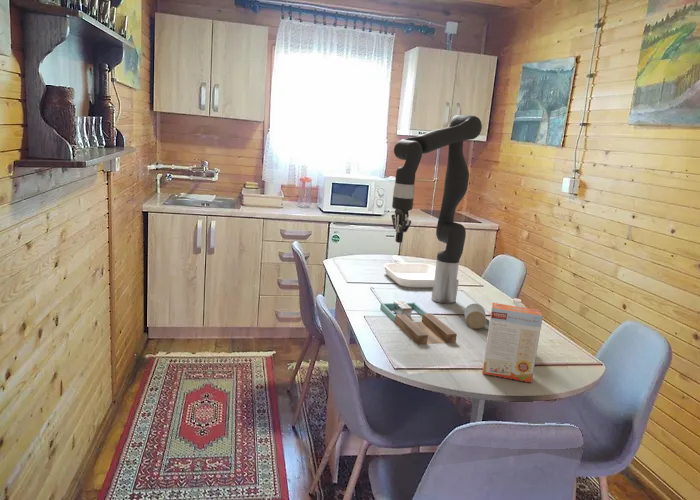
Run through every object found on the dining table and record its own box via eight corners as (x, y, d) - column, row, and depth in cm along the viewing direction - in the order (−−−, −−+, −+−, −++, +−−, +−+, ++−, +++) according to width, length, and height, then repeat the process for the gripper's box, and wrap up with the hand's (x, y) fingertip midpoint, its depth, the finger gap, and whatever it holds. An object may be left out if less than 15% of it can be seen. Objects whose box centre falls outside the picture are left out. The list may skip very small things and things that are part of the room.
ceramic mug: (464, 329, 192) (467, 308, 190) (462, 321, 200) (465, 301, 198) (494, 333, 191) (497, 313, 189) (491, 325, 199) (494, 305, 197)
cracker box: (530, 375, 159) (542, 309, 154) (531, 384, 153) (543, 315, 149) (482, 366, 162) (492, 301, 157) (481, 374, 157) (492, 307, 152)
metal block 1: (402, 310, 204) (403, 300, 203) (406, 314, 200) (408, 304, 199) (392, 311, 202) (394, 301, 201) (397, 314, 199) (398, 304, 198)
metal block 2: (406, 314, 200) (407, 304, 199) (410, 318, 196) (412, 308, 195) (396, 314, 199) (397, 304, 198) (400, 318, 195) (402, 308, 194)
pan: (399, 289, 233) (400, 279, 232) (368, 262, 274) (369, 254, 273) (455, 289, 241) (456, 279, 240) (417, 263, 281) (418, 254, 280)
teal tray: (413, 310, 207) (414, 302, 207) (429, 323, 194) (430, 315, 194) (380, 310, 203) (380, 303, 202) (393, 324, 190) (394, 316, 189)
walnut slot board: (430, 323, 194) (431, 313, 193) (455, 345, 176) (456, 333, 176) (394, 325, 190) (395, 314, 189) (416, 347, 172) (418, 335, 171)
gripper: (420, 199, 190) (415, 246, 194) (405, 193, 202) (400, 238, 206) (401, 198, 187) (396, 246, 191) (386, 192, 199) (382, 238, 203)
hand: (398, 242), depth 199 cm, fingers closed
